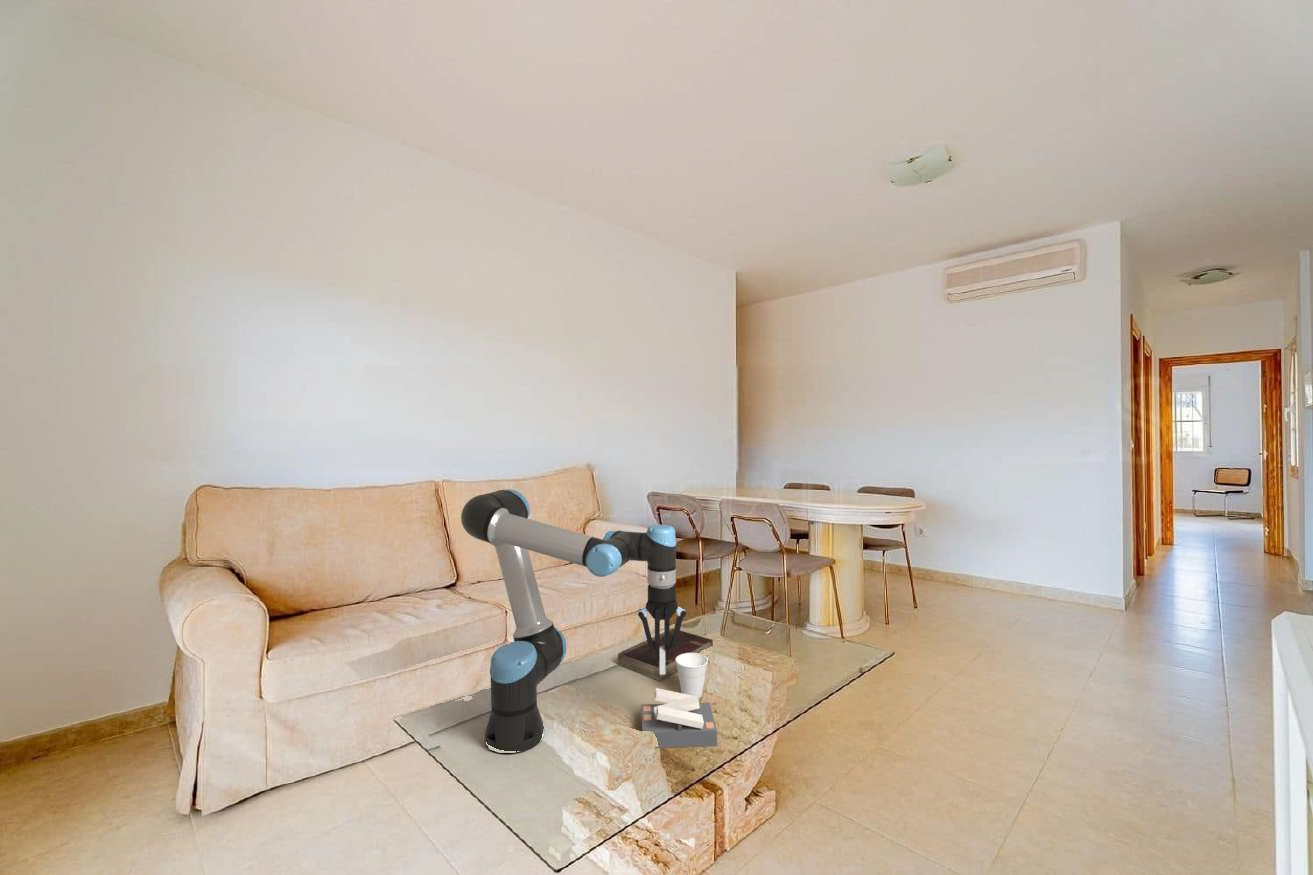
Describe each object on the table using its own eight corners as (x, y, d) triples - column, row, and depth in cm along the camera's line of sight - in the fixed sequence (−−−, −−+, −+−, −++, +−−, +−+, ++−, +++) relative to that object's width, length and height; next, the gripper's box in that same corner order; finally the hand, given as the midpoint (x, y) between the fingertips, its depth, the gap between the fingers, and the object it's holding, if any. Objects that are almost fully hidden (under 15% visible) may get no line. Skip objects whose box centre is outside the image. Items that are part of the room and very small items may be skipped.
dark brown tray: (671, 640, 211) (671, 627, 211) (712, 653, 198) (712, 639, 198) (617, 666, 189) (617, 651, 189) (659, 683, 177) (659, 668, 176)
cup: (706, 705, 162) (706, 668, 162) (672, 702, 164) (672, 665, 164) (710, 688, 172) (710, 653, 171) (678, 685, 174) (678, 651, 173)
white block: (656, 720, 146) (654, 714, 146) (655, 712, 150) (653, 706, 150) (700, 707, 147) (698, 702, 147) (698, 700, 151) (696, 695, 150)
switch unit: (642, 748, 141) (642, 727, 141) (641, 718, 155) (641, 699, 155) (717, 745, 142) (717, 724, 142) (709, 716, 156) (709, 697, 156)
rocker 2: (656, 719, 142) (658, 713, 141) (656, 711, 145) (657, 705, 145) (702, 728, 142) (703, 722, 142) (700, 720, 146) (702, 714, 146)
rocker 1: (655, 700, 151) (656, 694, 151) (654, 693, 155) (655, 687, 155) (697, 709, 152) (699, 703, 152) (696, 702, 155) (697, 696, 155)
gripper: (637, 589, 143) (637, 679, 144) (687, 588, 143) (688, 678, 144) (636, 580, 150) (637, 666, 151) (684, 579, 151) (685, 665, 152)
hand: (662, 671), depth 148 cm, fingers closed
